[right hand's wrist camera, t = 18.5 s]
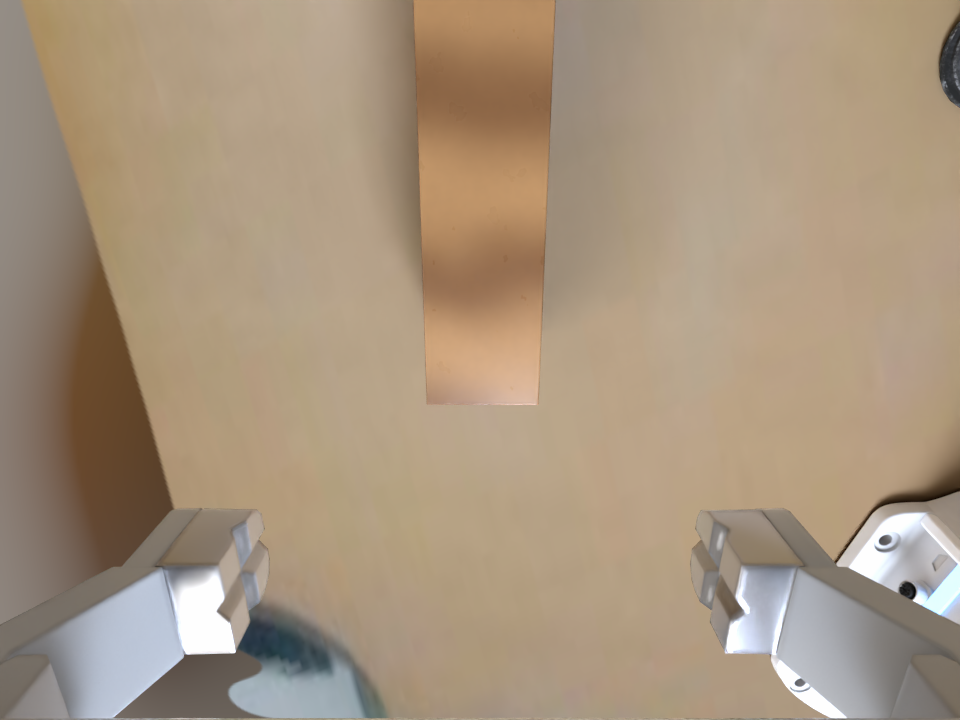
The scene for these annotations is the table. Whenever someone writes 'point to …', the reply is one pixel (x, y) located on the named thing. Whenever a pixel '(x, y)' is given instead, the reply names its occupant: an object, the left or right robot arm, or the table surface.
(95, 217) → the table surface
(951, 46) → the grey chess piece
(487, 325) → the bar
